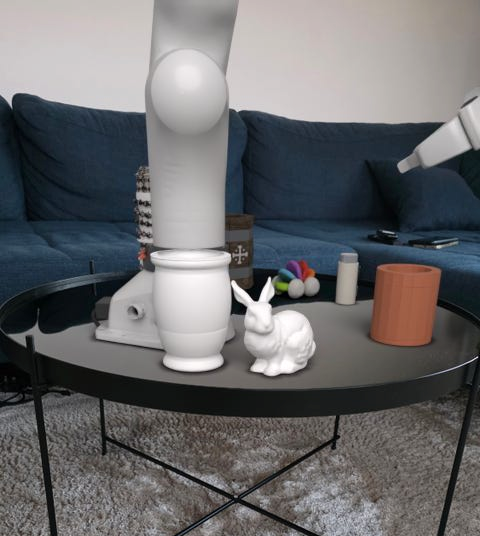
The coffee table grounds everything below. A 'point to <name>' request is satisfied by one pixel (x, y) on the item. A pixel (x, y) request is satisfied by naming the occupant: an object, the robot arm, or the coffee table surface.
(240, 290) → the rabbit
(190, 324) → the jar
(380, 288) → the terracotta jar
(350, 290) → the salt shaker
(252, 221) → the mug
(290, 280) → the rainbow wheeled toy
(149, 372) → the coffee table surface
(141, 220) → the decorative candle
